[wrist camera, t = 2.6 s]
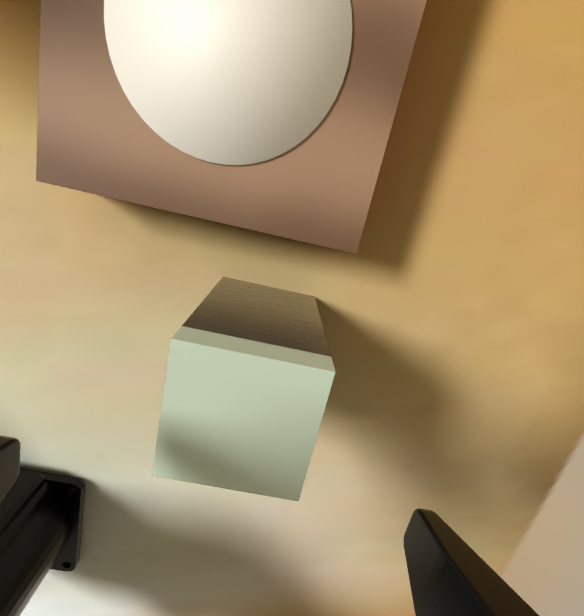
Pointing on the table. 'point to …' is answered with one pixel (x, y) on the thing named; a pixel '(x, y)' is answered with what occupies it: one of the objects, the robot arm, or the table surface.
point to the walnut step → (226, 107)
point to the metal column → (245, 391)
